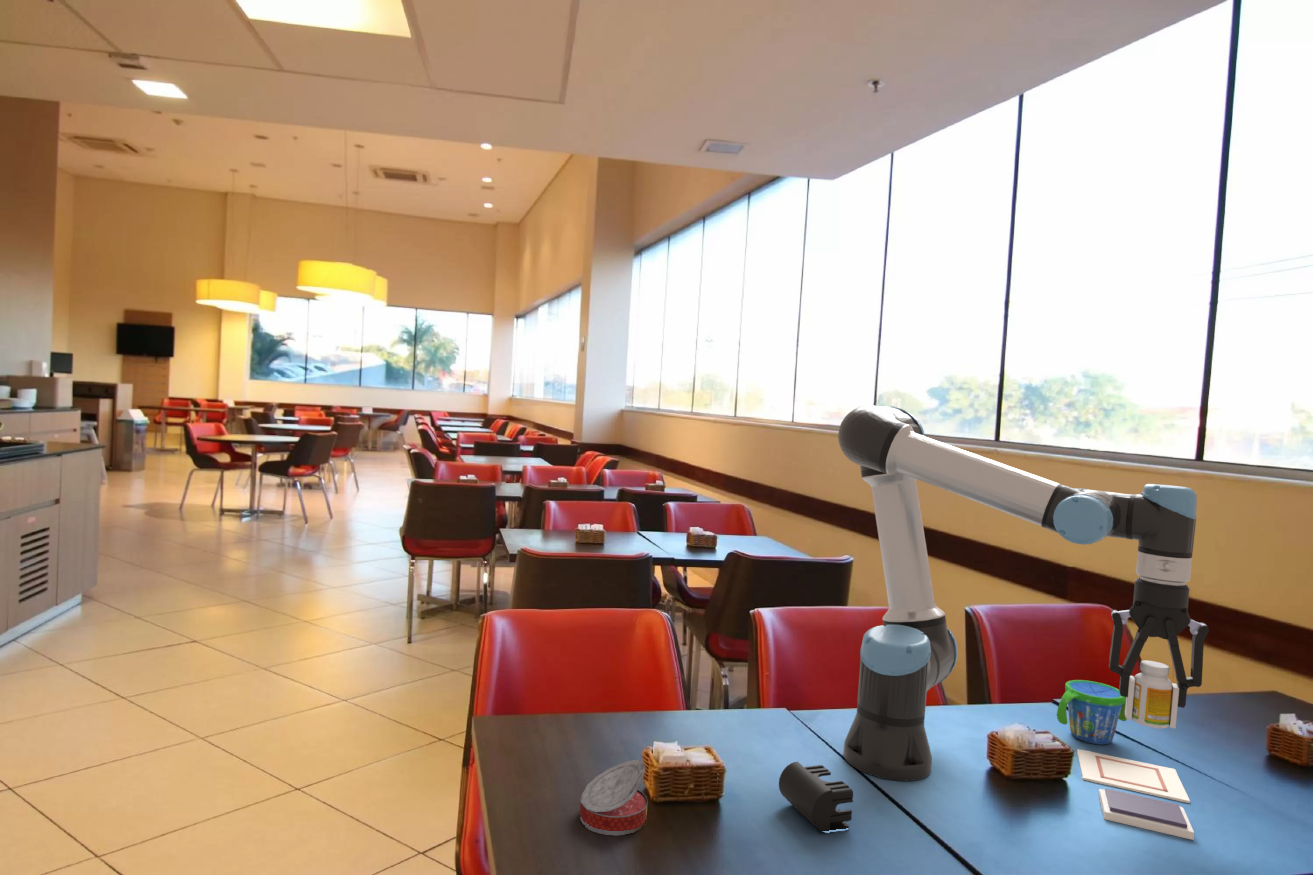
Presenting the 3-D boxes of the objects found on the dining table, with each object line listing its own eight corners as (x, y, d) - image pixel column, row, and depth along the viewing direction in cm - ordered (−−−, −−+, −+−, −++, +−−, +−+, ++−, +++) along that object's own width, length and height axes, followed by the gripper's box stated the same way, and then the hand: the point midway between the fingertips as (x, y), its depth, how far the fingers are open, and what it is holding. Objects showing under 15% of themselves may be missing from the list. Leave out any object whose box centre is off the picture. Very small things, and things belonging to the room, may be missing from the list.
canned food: (631, 867, 114) (628, 823, 109) (568, 841, 117) (563, 798, 112) (662, 801, 123) (661, 757, 118) (603, 779, 126) (599, 736, 121)
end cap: (776, 805, 125) (779, 762, 125) (815, 799, 128) (818, 758, 127) (810, 838, 116) (814, 792, 116) (852, 832, 118) (855, 787, 118)
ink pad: (1104, 818, 127) (1105, 807, 127) (1098, 795, 136) (1099, 784, 136) (1193, 839, 123) (1194, 828, 123) (1182, 814, 131) (1183, 803, 131)
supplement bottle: (1175, 726, 130) (1181, 667, 130) (1158, 731, 127) (1163, 671, 127) (1141, 714, 135) (1146, 657, 134) (1123, 718, 132) (1129, 660, 132)
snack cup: (1073, 749, 155) (1077, 697, 154) (1038, 727, 165) (1043, 678, 165) (1145, 749, 157) (1149, 698, 157) (1106, 727, 168) (1111, 679, 167)
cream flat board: (1082, 779, 142) (1083, 776, 142) (1077, 750, 154) (1077, 748, 154) (1189, 803, 135) (1190, 800, 135) (1174, 771, 148) (1175, 768, 148)
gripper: (1099, 575, 131) (1086, 715, 132) (1235, 593, 123) (1222, 742, 124) (1096, 568, 138) (1084, 701, 138) (1226, 585, 130) (1212, 726, 130)
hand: (1149, 720), depth 131 cm, fingers closed on supplement bottle, 5 cm apart
